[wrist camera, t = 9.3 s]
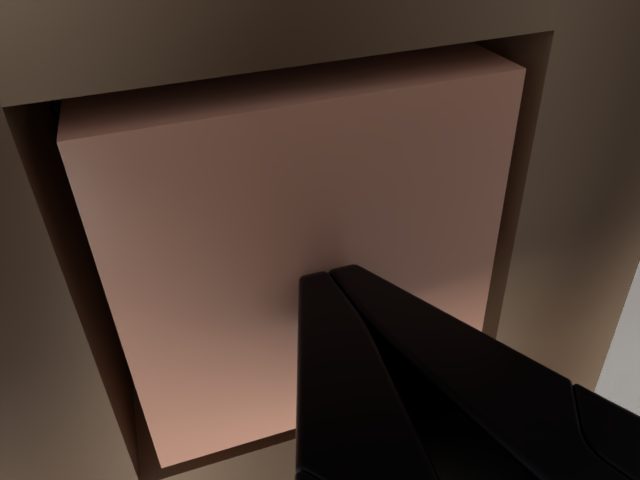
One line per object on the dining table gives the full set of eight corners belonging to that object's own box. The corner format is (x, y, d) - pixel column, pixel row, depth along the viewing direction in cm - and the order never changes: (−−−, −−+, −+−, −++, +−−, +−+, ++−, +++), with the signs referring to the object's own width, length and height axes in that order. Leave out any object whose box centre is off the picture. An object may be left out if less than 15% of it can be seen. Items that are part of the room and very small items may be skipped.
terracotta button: (419, 16, 10) (525, 68, 7) (403, 279, 13) (474, 374, 10) (65, 60, 8) (56, 141, 6) (146, 341, 11) (161, 467, 9)
